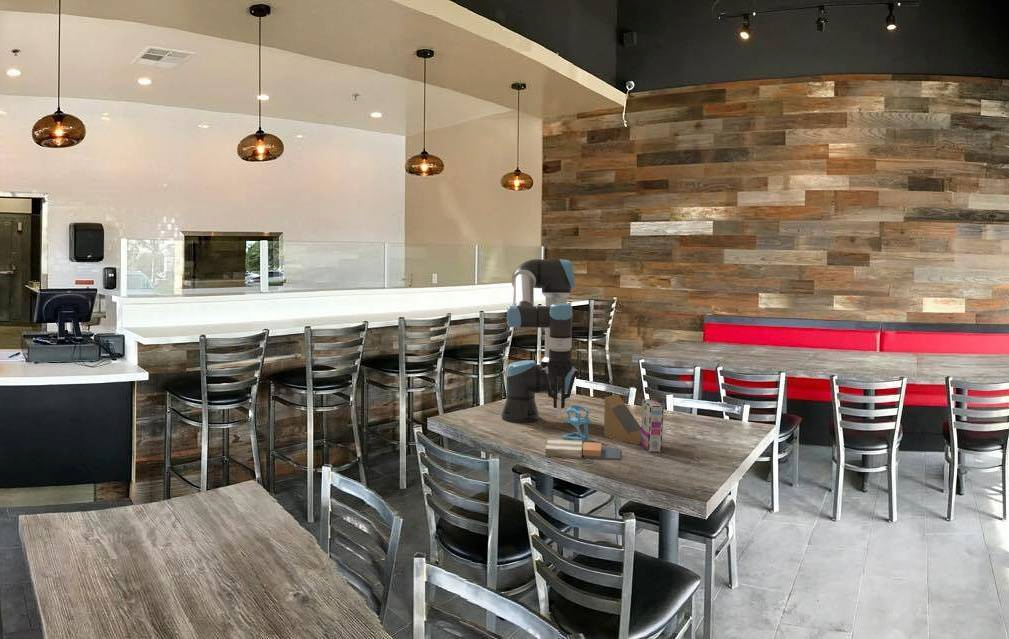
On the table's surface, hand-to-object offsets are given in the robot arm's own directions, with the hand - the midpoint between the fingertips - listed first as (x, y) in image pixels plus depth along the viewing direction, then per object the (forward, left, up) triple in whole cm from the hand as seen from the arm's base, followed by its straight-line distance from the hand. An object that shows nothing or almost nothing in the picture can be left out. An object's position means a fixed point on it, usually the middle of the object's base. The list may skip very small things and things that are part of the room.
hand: (558, 417), depth 237 cm
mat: (+1, +15, -12) cm, 19 cm away
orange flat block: (+1, +12, -11) cm, 16 cm away
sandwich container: (-20, +24, -12) cm, 34 cm away
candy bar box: (-9, +32, -12) cm, 35 cm away
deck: (+1, +2, -12) cm, 12 cm away
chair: (-16, +6, -12) cm, 21 cm away
